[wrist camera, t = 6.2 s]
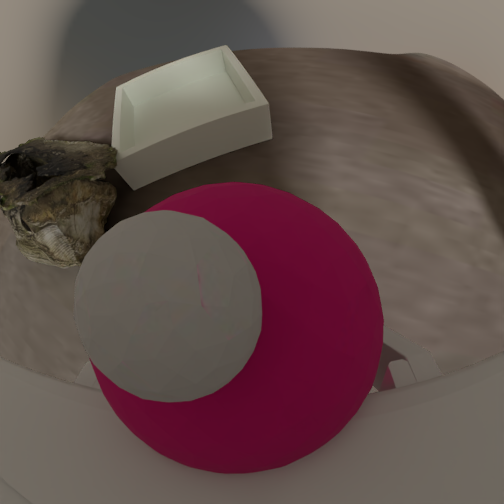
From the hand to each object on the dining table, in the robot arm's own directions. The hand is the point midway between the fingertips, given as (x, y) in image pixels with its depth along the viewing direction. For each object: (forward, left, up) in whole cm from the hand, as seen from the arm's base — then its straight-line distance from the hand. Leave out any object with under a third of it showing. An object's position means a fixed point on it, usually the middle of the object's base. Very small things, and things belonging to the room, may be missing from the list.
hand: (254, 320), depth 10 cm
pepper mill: (0, +1, -12) cm, 12 cm away
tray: (+1, -26, -11) cm, 29 cm away
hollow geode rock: (+20, -22, -12) cm, 32 cm away
